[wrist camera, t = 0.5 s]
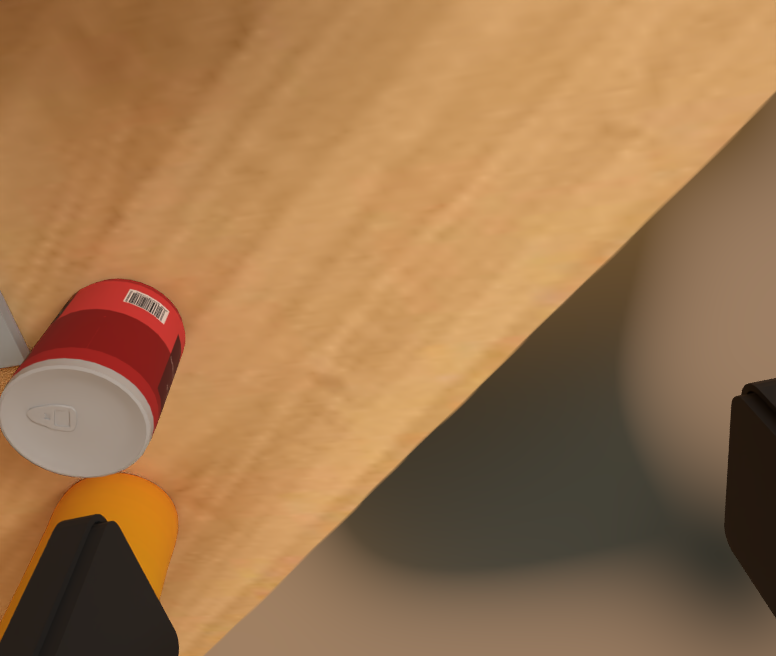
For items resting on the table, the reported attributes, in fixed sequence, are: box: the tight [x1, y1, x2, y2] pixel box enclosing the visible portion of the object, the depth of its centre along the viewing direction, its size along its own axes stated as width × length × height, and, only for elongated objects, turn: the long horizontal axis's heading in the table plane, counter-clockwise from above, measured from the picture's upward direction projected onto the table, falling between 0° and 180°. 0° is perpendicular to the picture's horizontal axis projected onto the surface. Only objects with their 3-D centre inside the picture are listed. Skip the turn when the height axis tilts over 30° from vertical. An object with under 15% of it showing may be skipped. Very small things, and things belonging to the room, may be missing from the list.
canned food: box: [0, 279, 185, 478], centre depth 42 cm, size 8×8×11 cm
